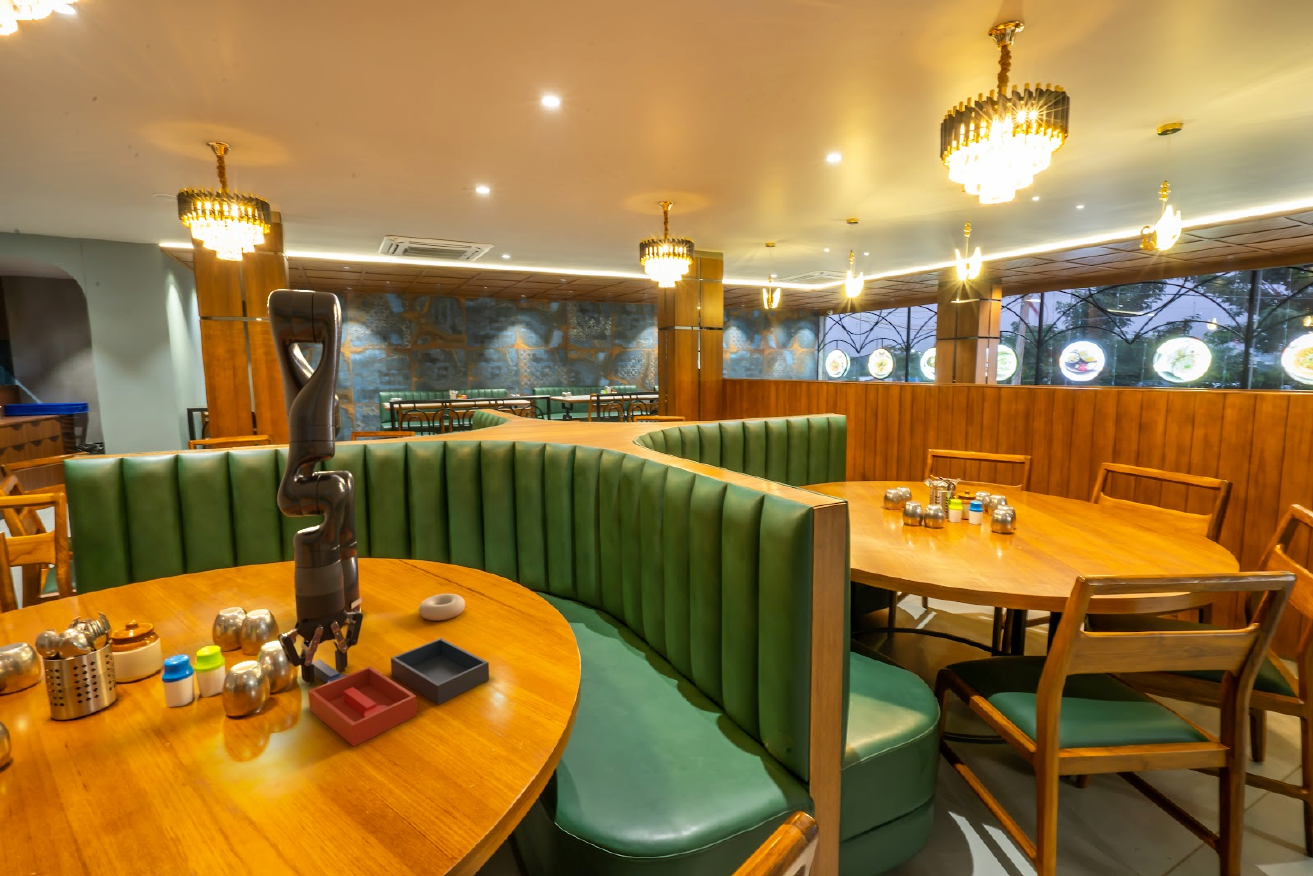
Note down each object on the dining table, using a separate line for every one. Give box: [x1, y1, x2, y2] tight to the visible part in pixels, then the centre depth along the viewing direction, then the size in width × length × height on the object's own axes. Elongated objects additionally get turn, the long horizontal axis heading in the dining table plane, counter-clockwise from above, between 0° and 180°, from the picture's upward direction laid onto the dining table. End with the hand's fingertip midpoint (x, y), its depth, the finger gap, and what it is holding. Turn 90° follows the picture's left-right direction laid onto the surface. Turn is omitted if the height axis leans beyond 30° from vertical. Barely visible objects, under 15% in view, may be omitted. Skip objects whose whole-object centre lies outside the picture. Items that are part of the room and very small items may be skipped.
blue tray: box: [390, 637, 490, 706], centre depth 108 cm, size 15×10×3 cm
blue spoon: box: [312, 659, 348, 684], centre depth 106 cm, size 11×4×2 cm, turn 52°
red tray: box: [307, 666, 418, 748], centre depth 97 cm, size 15×10×3 cm
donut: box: [418, 593, 466, 621], centre depth 135 cm, size 10×4×10 cm
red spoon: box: [343, 687, 387, 718], centre depth 96 cm, size 11×4×2 cm, turn 52°
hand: (325, 676), depth 107 cm, fingers open, 4 cm apart
